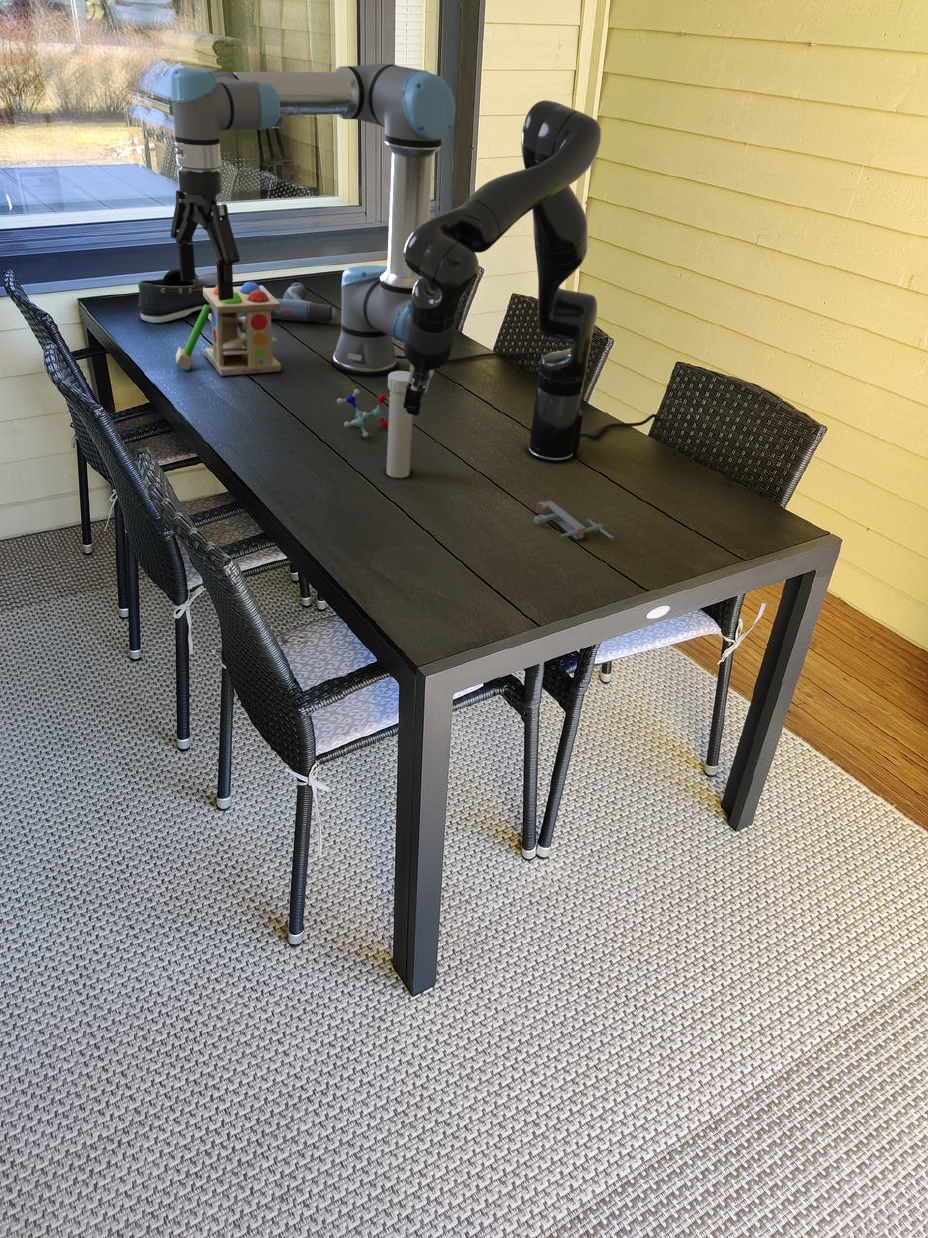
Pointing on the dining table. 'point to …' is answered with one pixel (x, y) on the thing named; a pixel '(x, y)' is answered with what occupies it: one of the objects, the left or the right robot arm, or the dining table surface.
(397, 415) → the jar
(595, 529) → the clamp
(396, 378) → the lid
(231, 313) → the pounding bench toy
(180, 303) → the boat shoe
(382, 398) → the molecular model
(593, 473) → the dining table surface
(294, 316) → the power drill
